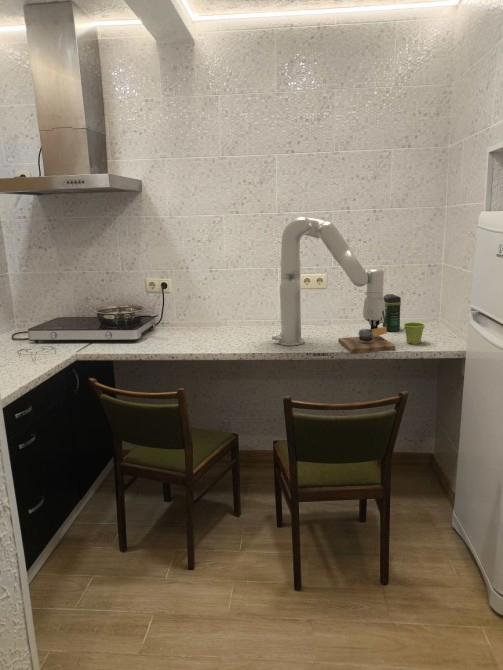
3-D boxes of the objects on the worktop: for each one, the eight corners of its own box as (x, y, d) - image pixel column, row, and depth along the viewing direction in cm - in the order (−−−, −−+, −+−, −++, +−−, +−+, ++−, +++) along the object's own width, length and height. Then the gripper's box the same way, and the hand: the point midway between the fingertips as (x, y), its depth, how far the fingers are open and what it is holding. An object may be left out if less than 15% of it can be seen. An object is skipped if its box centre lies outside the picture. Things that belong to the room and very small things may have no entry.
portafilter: (354, 338, 223) (354, 330, 222) (378, 333, 231) (378, 325, 230) (367, 341, 216) (367, 333, 215) (391, 336, 224) (391, 327, 223)
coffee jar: (402, 331, 246) (403, 295, 241) (386, 332, 245) (387, 296, 241) (395, 327, 255) (396, 292, 251) (380, 328, 255) (381, 293, 250)
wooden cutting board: (351, 353, 211) (351, 346, 211) (338, 342, 231) (338, 336, 230) (395, 350, 213) (395, 343, 212) (378, 339, 232) (378, 333, 232)
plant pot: (406, 345, 220) (407, 327, 217) (400, 340, 229) (401, 322, 227) (427, 344, 219) (428, 326, 217) (420, 339, 228) (421, 321, 226)
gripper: (357, 294, 228) (356, 332, 232) (382, 298, 216) (381, 337, 220) (368, 292, 232) (367, 329, 236) (393, 296, 220) (391, 334, 224)
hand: (374, 333), depth 228 cm, fingers closed
